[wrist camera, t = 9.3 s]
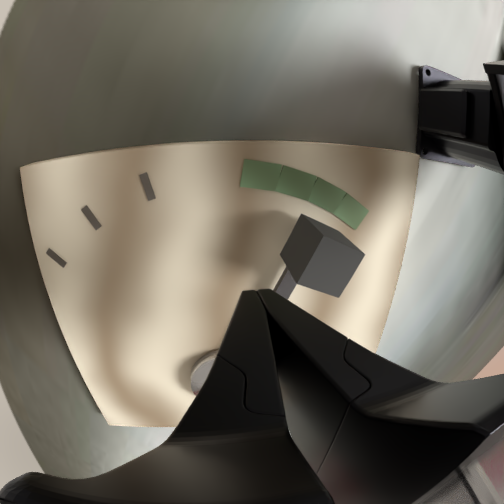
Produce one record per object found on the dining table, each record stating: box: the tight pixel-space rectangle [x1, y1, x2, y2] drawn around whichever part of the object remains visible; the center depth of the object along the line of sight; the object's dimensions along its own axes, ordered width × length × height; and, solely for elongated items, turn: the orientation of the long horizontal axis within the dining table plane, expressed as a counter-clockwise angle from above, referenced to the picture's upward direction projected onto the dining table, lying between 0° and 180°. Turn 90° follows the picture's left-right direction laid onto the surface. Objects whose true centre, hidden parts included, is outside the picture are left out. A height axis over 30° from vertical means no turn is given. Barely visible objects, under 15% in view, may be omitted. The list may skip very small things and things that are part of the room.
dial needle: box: [191, 213, 365, 396], centre depth 16 cm, size 15×5×4 cm, turn 155°
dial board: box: [20, 140, 420, 427], centre depth 19 cm, size 23×22×2 cm
